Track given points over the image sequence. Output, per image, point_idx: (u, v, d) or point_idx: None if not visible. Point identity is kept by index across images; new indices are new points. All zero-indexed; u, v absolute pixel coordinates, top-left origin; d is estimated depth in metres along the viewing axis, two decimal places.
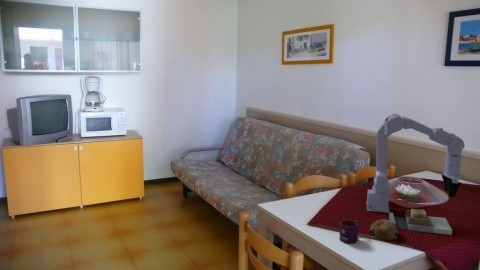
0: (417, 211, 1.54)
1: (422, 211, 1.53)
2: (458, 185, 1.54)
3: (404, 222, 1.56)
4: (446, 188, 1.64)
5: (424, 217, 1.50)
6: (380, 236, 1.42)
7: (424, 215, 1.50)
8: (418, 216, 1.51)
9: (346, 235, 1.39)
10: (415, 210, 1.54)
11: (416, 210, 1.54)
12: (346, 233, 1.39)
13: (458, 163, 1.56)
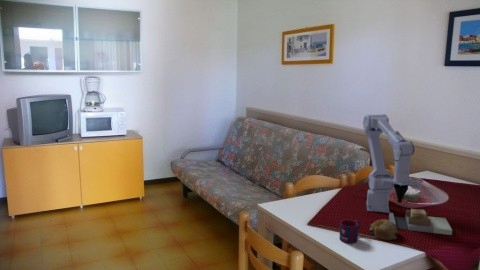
0: (417, 211, 1.54)
1: (422, 211, 1.53)
2: None
3: (404, 222, 1.56)
4: None
5: (424, 217, 1.50)
6: (380, 236, 1.42)
7: (424, 215, 1.50)
8: (418, 216, 1.51)
9: (346, 235, 1.39)
10: (415, 210, 1.54)
11: (416, 210, 1.54)
12: (346, 233, 1.39)
13: (398, 169, 1.50)
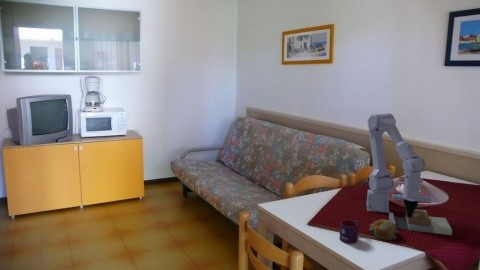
0: (419, 211, 1.53)
1: (424, 211, 1.53)
2: None
3: (404, 222, 1.56)
4: None
5: (426, 217, 1.50)
6: (379, 236, 1.42)
7: (426, 215, 1.50)
8: (420, 216, 1.51)
9: (346, 235, 1.39)
10: (417, 210, 1.54)
11: (418, 210, 1.54)
12: (346, 233, 1.39)
13: (410, 186, 1.50)
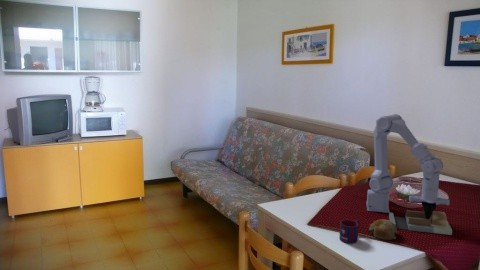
0: (437, 213, 1.51)
1: (442, 213, 1.51)
2: (423, 206, 1.51)
3: (404, 222, 1.56)
4: None
5: (445, 219, 1.48)
6: (379, 236, 1.42)
7: (445, 217, 1.48)
8: (438, 218, 1.49)
9: (346, 235, 1.39)
10: (435, 212, 1.52)
11: (436, 212, 1.52)
12: (346, 233, 1.39)
13: (431, 187, 1.47)
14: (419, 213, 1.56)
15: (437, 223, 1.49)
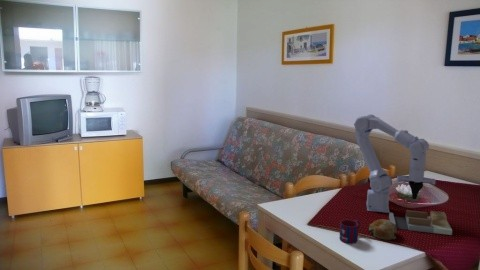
0: (437, 213, 1.51)
1: (442, 213, 1.51)
2: None
3: (404, 222, 1.56)
4: None
5: (445, 219, 1.48)
6: (379, 236, 1.42)
7: (445, 217, 1.48)
8: (438, 218, 1.49)
9: (346, 235, 1.39)
10: (435, 212, 1.52)
11: (436, 212, 1.52)
12: (346, 233, 1.39)
13: (418, 167, 1.54)
14: (419, 213, 1.56)
15: (437, 223, 1.49)
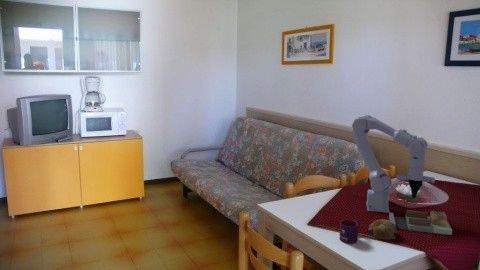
0: (437, 213, 1.51)
1: (442, 213, 1.51)
2: (409, 184, 1.58)
3: (404, 222, 1.56)
4: None
5: (445, 219, 1.48)
6: (379, 236, 1.42)
7: (445, 217, 1.48)
8: (438, 218, 1.49)
9: (346, 235, 1.39)
10: (435, 212, 1.52)
11: (436, 212, 1.52)
12: (346, 233, 1.39)
13: (418, 166, 1.55)
14: (419, 213, 1.56)
15: (437, 223, 1.49)
